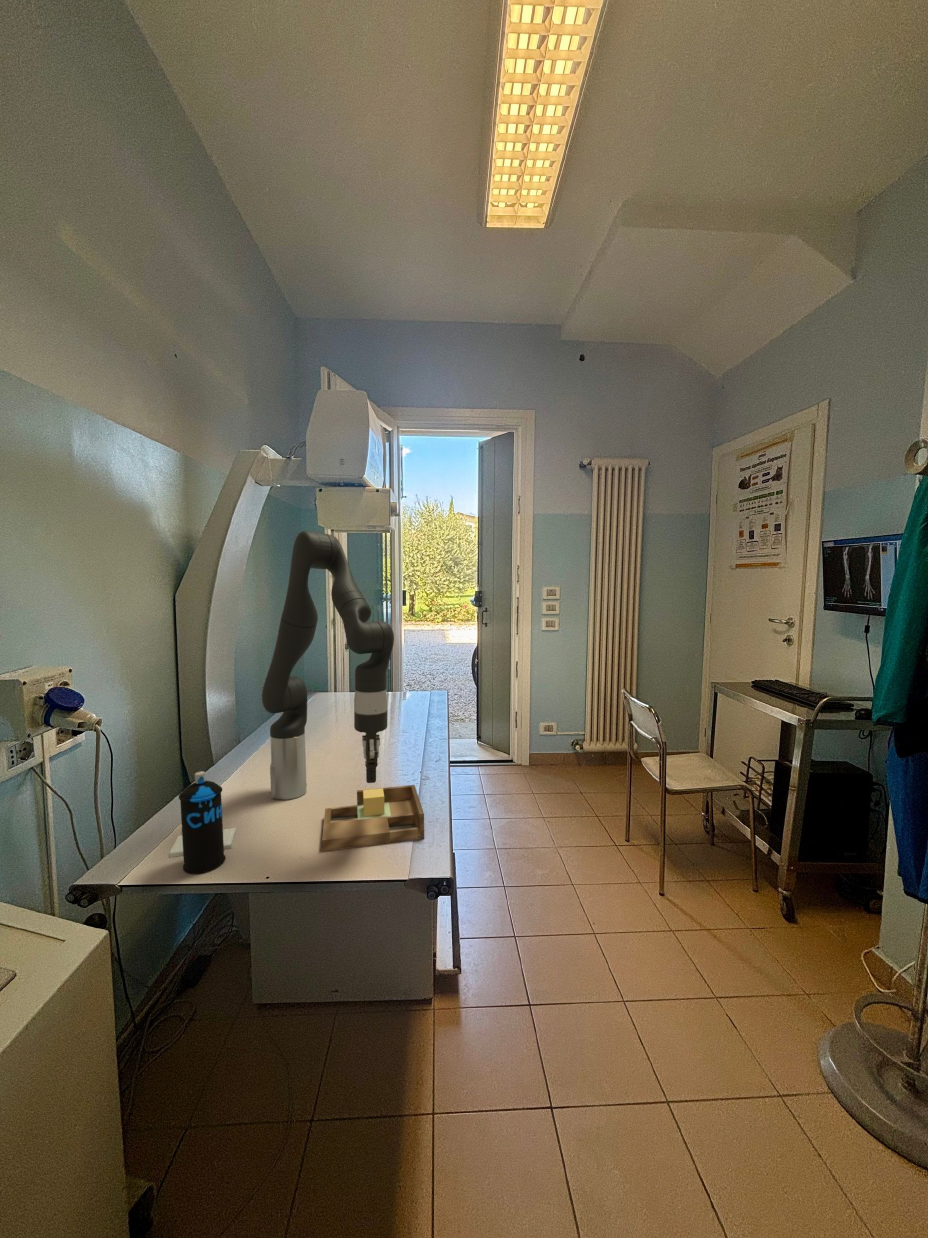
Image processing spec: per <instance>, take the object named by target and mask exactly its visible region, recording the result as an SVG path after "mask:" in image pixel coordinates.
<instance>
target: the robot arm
mask: <svg viewBox="0 0 928 1238" xmlns="http://www.w3.org/2000/svg"><path fill="white" fill-rule="evenodd" d="M311 569H316V570H317V569H318V570H327V571H329V573H330V574H331V575H332V576H333V578H334V579H333V583H332V586H331V590H330V591H331V601H332V602H333V606H334V607H335V609H336V611H337V612H338V615H339V616H340V618H341V620H342V624H343V628H344V633H345V639H346V645H347V647H348V648H349V649H350V650H351V651H352V652H353V653H355V654H357V655H365V654H371V655H370V657H369V659H367V660H366V661H365V662H364V661H363V662H362V663H360V664H358V665H357V666H356V667H355V670H354V679H355V680H354V697H353V699H354V700H353V702H354V703H353V706H354V707H353V708H354V709H353V711H354V712H353V715H354V716H353V717H354V718H353V722H354V723H353V726H354V730H355V731H357V732H358V733H364V734H363V735H362V736H361V737H362V739H361V742H362V744H361V745H362V747H363V748H362V749H363V752H362V753H363V759H365V761H364V762H365V763H364V766H365V770H366V771H365V773H366V774H365V775H366V776H365V777H366V778H365V781H366V784H373V783H376V782H377V767H378V766H379V765H378V764H379V763H378V759H379V758H380V745H381V737H380V734H379V732H383V731H385V730H387V728H388V694H387V693H388V692H387V672H388V671H387V670H388V667H389V663H390V659H391V655H392V651H393V648H394V642H395V634H394V630H393V628H392V627H391V625H390V623H388V622H387V621H381V620H380V621H369V620H370V618H371V616H372V609H371V607H370V605H369V603H368V602H367V600H366V598H365V597H364V595H363V593H362V591H361V590H360V588H359V586H358V585H357V583H356V581H355V578H354V576H353V575H354V574H353V573H352V570H351V567H350V564H349V562H348V559H347V557H346V554H345V552H344V549H343V546H342V544H341V543H340V541H339V539H338V538H337V536H334V535H333V534H328V533H324V532H323V533H322V532H318V531H317V532H315V531H309V530H303V531H300V532H299V533H298V534H297V536H296V537H295V539H294V543H293V547H292V554H291V560H290V569H289V579H288V585H287V589H286V590H287V591H286V595H285V602H284V605H283V610H282V614H281V617H280V622H279V627H278V631H277V638H276V642H275V646H274V650H273V654H272V655H273V656H272V659H271V663H270V665H269V668H268V671H267V674H266V677H265V679H264V683H263V686H262V691H261V700H262V706H263V707H264V709H265V711H266V712H267V713H270V714H280V713H282V714H281V715H280V716H279V718H278V719H277V720H275V721H274V722H273V723H272V724H271V725H270V728H269V735H270V737H269V738H270V739H269V740H270V742H269V743H270V761H271V762H270V765H269V776H270V797H271V798H270V799H271V800H273V799H278V800H294V799H297V798H299V797H301V796H304V795H305V794H306V793H307V787H308V785H307V761H306V760H307V759H306V758H307V757H306V734H305V733H306V732H305V729H306V725H307V721H308V690H307V686H306V683H305V682H304V680H303V678H301V677H300V676H297V675H292V671H293V669H294V668H295V666H296V664H297V663H298V662H299V661H300V659H301V658H302V657H303V656H304V654H305V653H306V652H307V650H308V649H309V647H310V646H311V644H312V642H313V641H314V638H315V633H316V630H317V626H318V625H317V624H318V621H319V617H318V610H317V608H316V605H315V603H314V601H313V598H312V595H311V592H310V590H309V578H310V576H309V575H310V571H311ZM291 675H292V676H291Z"/></svg>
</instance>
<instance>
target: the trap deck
mask: <svg viewBox="0 0 928 1238" xmlns="http://www.w3.org/2000/svg"><path fill="white" fill-rule="evenodd" d="M381 788H383V792H384V808H385V814H380V815H371V816H364V806H363V790H364V789H358V790H356V805H346V806H337V807H329V808H328V807H327V808H325V809H324V817H323V828H322V839H321V844H322V845H321V846H322V847H321V848H322V850H321V851H322V852H325V851H334V850H341V849H349V848H350V849H351V848H358V847H366V846H375V845H383V844H390V843H397V842H405V841H406V842H407V841H414V840H415V841H416V840H423V839H425V812H424V810H423V806H422V803H421V801H420V798H419V794H418V791H417V789H416V786H415V784H410V785H409V784H407V785H399V786H387V787H378V788H376V789H381ZM370 789H371V788H370ZM370 789H366V790H370Z"/></svg>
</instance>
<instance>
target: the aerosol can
mask: <svg viewBox="0 0 928 1238" xmlns="http://www.w3.org/2000/svg"><path fill="white" fill-rule="evenodd" d="M222 792H223V787H222V786H221V785H219V784H218V783H216V782H214V781H211V780H206V772H205V771H202V770H201V771H197V772H195V773H194V782H193V783H191V784H189V785H187V786H186V787H185V788H184V789H183V790H182V791H181V792H180V794H179V795H178V799H179V801H180V802H179V803H180V817H181V818H180V820H181V833H182V834H181V835H182V840H183V865H182V871H183V872H185V873H187V874H190V875H200V874H205V873H208V872H212V871H214V870H216V869H218V868H219V867H221V866H222V865H223V864H224V862H225V861H226V859H227V858H226V855H225V849H224V843H223V830H224V828H223V827H224V825H223V806H222V805H223V804H222V803H223V802H222Z"/></svg>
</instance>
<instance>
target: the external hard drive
mask: <svg viewBox="0 0 928 1238" xmlns="http://www.w3.org/2000/svg"><path fill="white" fill-rule="evenodd" d="M236 832H237V827H233V828H232V827H231V828H226V829H224V828H223V843H224V850H228V849H232V847H233V843H234V839H235V837H236V834H237V833H236ZM182 856H183V840H182V834H181V835H177V838H176V840H175V841H174V843H173V845H172V847H171V849H170V851H169V858H174V857H182Z"/></svg>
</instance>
